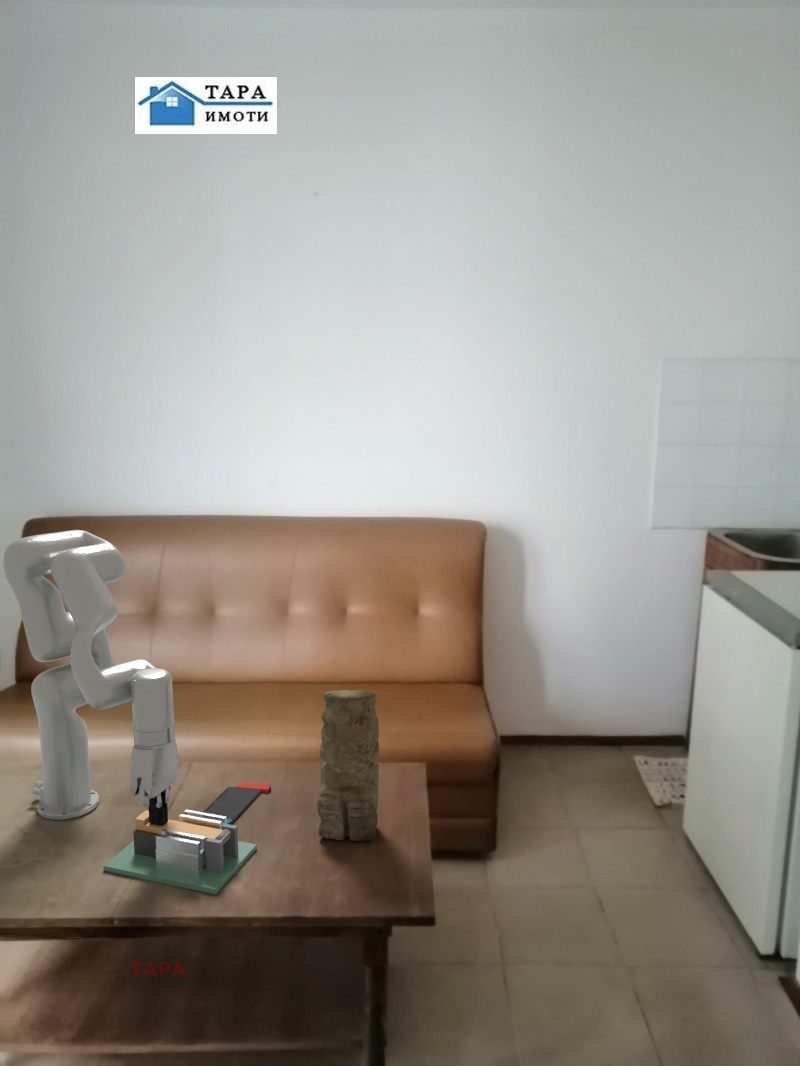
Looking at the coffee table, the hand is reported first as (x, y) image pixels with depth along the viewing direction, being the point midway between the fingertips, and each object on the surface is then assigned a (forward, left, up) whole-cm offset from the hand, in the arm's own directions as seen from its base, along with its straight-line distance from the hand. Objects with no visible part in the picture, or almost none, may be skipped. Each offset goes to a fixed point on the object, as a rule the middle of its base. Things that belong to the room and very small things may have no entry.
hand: (158, 822), depth 165 cm
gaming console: (+4, +23, -8) cm, 24 cm away
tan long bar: (+5, 0, -2) cm, 5 cm away
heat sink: (+7, 0, -7) cm, 10 cm away
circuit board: (+5, 0, -7) cm, 8 cm away
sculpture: (+32, +20, -7) cm, 38 cm away
